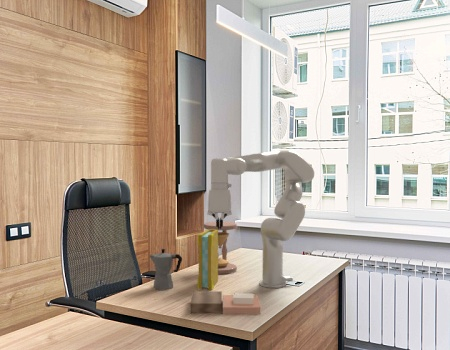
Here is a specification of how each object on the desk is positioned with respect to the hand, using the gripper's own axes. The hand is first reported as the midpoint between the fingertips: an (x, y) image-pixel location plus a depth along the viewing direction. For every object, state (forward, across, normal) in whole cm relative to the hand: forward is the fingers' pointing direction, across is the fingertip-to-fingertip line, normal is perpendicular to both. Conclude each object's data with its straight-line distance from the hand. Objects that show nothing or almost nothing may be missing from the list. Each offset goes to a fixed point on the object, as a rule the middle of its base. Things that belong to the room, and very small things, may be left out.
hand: (219, 228), depth 204 cm
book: (+29, +5, -15) cm, 33 cm away
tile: (+27, -10, +19) cm, 34 cm away
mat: (+29, -9, +18) cm, 35 cm away
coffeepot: (+29, +25, -10) cm, 40 cm away
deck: (+29, +5, +18) cm, 35 cm away
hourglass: (+29, 0, -43) cm, 52 cm away
